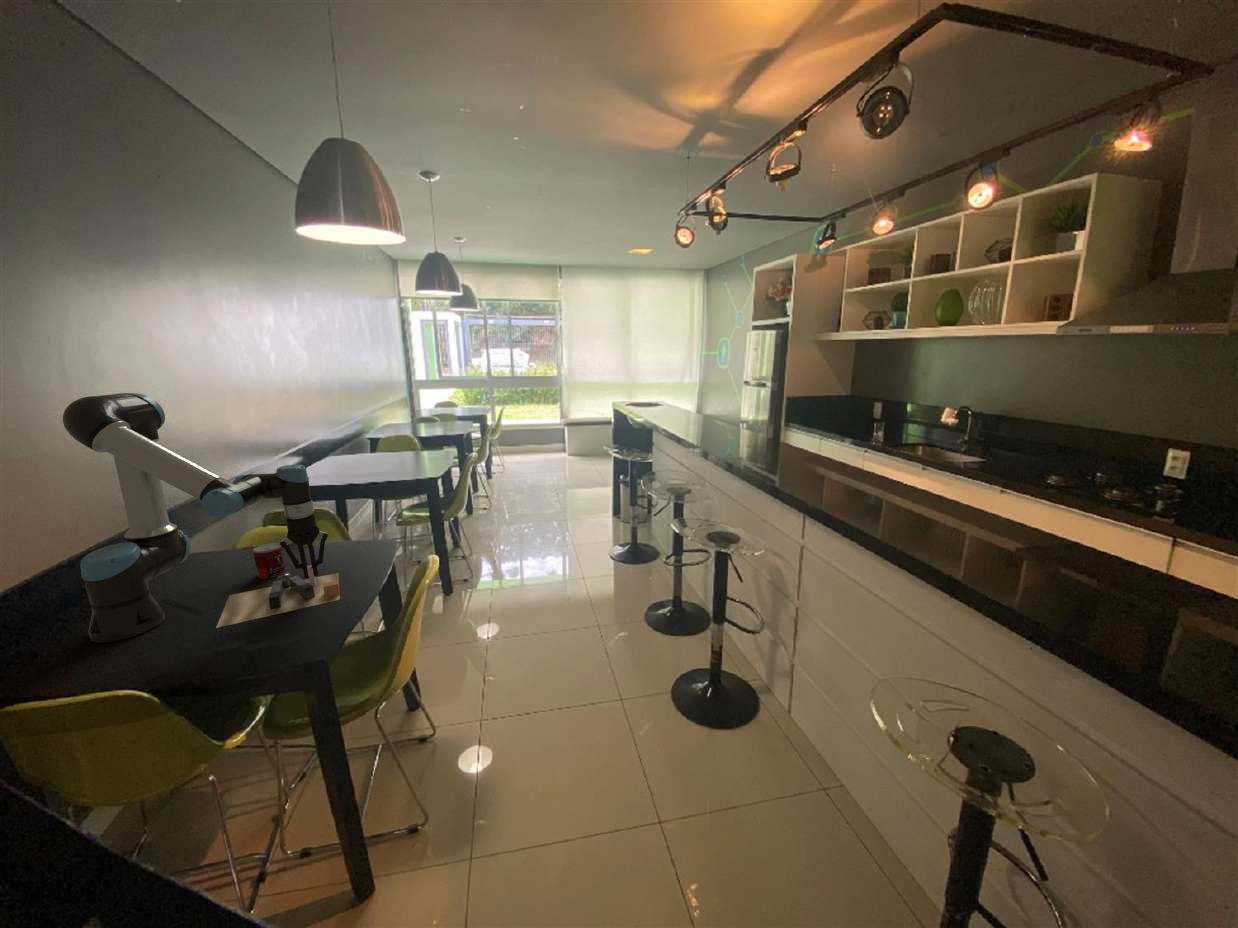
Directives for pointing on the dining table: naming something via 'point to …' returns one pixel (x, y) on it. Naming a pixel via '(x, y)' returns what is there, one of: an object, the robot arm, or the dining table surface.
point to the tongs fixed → (279, 590)
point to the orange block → (331, 588)
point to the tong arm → (302, 587)
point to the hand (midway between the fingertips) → (313, 585)
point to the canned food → (268, 560)
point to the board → (258, 603)
